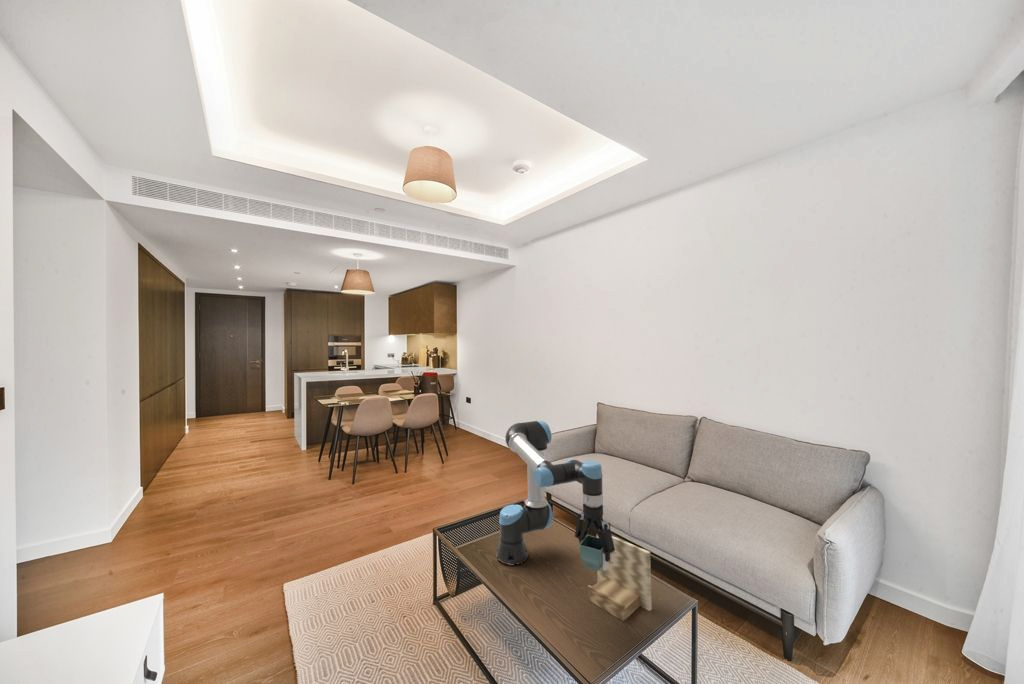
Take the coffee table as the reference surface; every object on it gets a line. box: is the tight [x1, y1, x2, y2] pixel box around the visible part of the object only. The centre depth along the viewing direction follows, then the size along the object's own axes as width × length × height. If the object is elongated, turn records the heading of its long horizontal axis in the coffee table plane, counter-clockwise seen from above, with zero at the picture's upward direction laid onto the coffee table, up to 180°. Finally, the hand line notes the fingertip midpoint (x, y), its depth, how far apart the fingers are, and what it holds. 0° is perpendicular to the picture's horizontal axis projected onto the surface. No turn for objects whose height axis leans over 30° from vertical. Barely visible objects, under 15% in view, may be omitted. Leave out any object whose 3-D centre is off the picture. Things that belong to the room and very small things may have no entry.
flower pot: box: [578, 534, 604, 572], centre depth 140 cm, size 9×9×9 cm
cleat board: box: [587, 534, 653, 622], centre depth 147 cm, size 24×14×22 cm, turn 42°
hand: (594, 563), depth 140 cm, fingers closed on flower pot, 9 cm apart
